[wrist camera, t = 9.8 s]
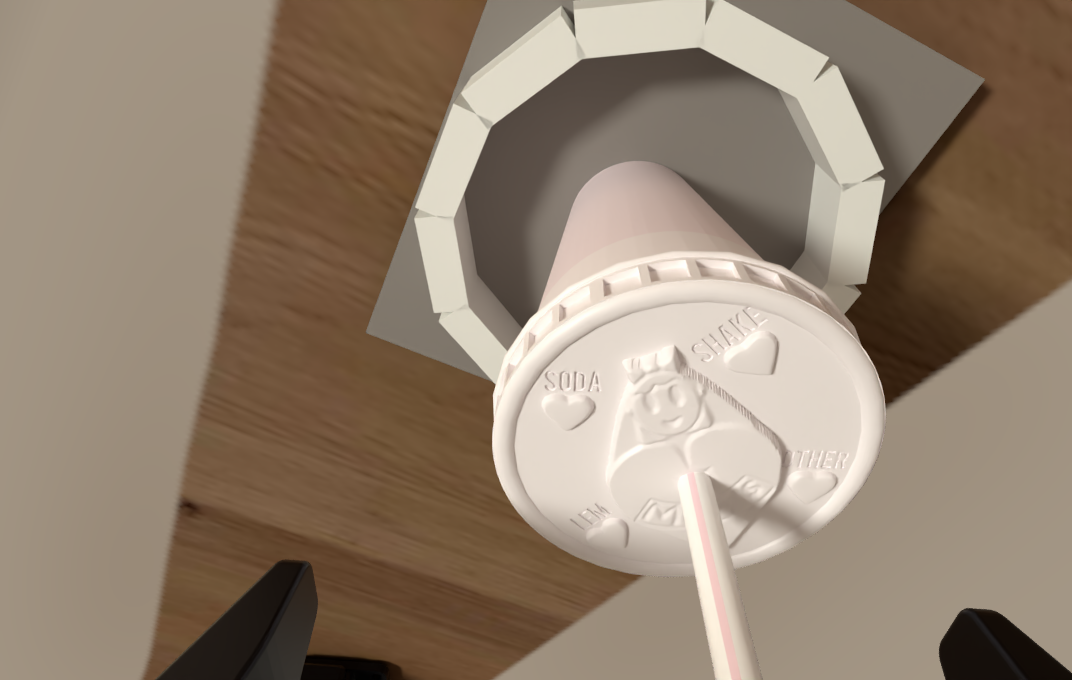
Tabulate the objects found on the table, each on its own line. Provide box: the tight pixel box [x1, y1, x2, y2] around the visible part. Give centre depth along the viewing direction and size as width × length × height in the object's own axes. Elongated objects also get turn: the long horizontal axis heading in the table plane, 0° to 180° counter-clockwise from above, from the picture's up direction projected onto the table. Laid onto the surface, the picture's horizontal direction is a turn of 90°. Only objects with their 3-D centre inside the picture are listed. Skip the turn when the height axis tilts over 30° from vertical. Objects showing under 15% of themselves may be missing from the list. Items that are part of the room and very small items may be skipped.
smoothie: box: [492, 161, 886, 680], centre depth 13 cm, size 6×6×14 cm
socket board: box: [366, 0, 985, 384], centre depth 18 cm, size 14×12×3 cm
